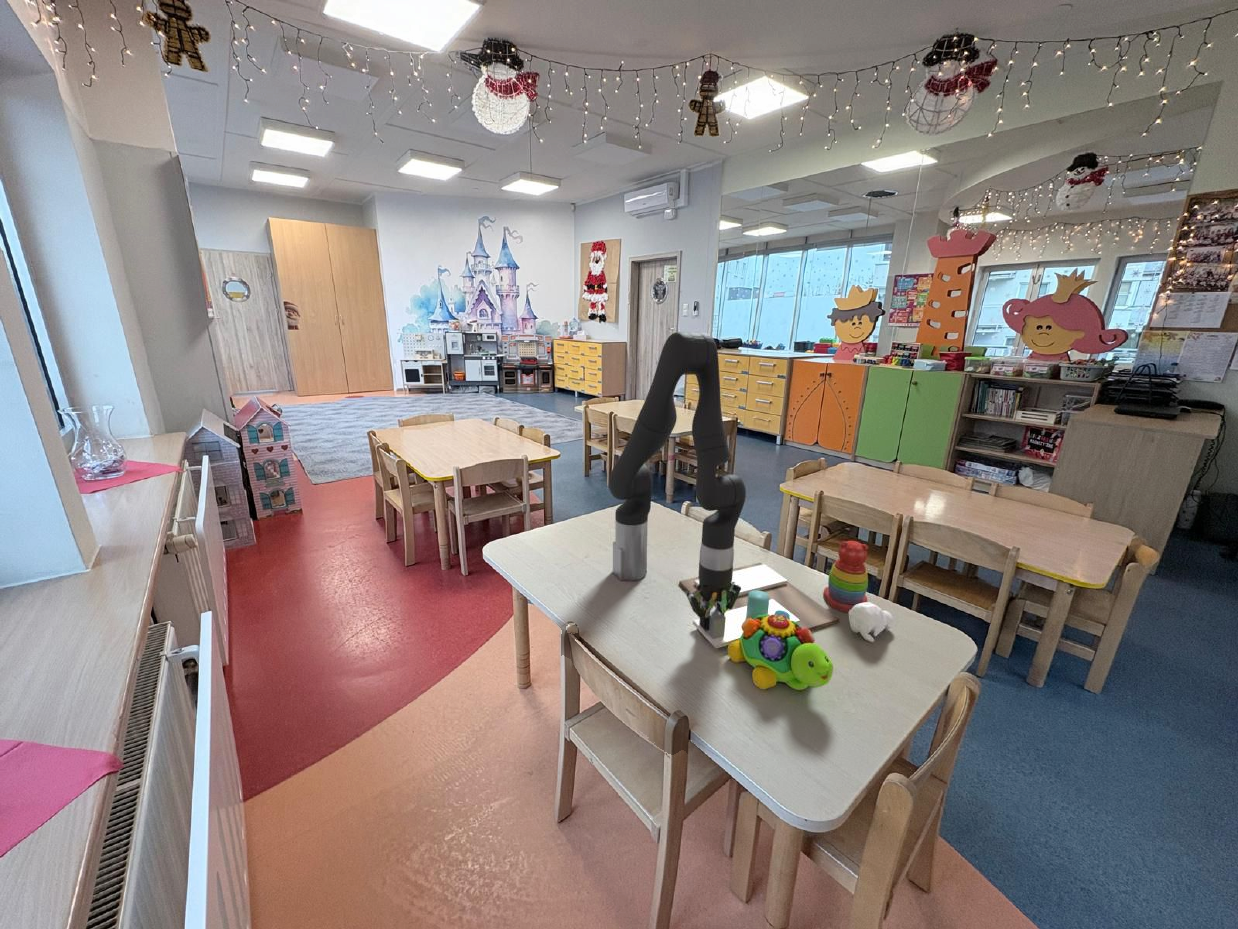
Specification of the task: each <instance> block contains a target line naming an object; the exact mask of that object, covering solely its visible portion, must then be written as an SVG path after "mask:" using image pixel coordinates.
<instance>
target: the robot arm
mask: <svg viewBox="0 0 1238 929" xmlns="http://www.w3.org/2000/svg"><path fill="white" fill-rule="evenodd" d="M718 353H719V352H718V347H717V344H716V341H715V339H714V338H713V336H712V335H711V334H709V333H708V332H707V333H706V332H699V331H698V332H697V331H676V332H674V333H672V334H670V335H669V336H668V337H667V339H666V341H665V342H664V345H663V347H662V350H661V353H660V355H659V359H658V362H657V366H656V369H655V373H654V376H653V379H652V383H651V385H650V387H649V390H648V393H647V395H646V397H645V400H644V403H643V405H642V408H641V409H640V411H639V413H638V416H637V418H636V420H635V422H634V425H633V429H632V431H631V434H630V436H629V437H628V440H627V442H626V444H625V446H624V449H623V450H622V453H621V454H620V456H619V458H618V459H617V461H616V463H615V464H614V466H613V468H612V470H611V472H610V474H609V479H608V488H609V491H610V494H611V495H612V497H613V498H615V499H616V500H620V501H623V503H621V504H620V505H619V506H618V507H617V508H616V510H615V514H614V515H615V523H614V524H615V527H614V528H615V534H614V535H615V538H614V540H615V541H613V542H612V572H613V573H614V574H615V576H616V577H617V578H618V579H619V581H638V580H642V579H643V578H645V577H646V575H647V573H648V572H647V571H648V569H647V568H648V565H647V564H648V529H649V527H648V525H649V524H648V522H649V520H648V519H649V513H650V512H651V506H652V505H651V504H652V493H653V478H652V474H651V470H650V469H649V467H648V466H647V465H646V464H645V463H647V462H648V461H649V460H650V459H651V458H653V457H654V456H655V455H656V454H657V453H658V452H659V451H660V450H662V448H663V447H664V446H665V444H666V443H667V442H668V440H669V439H670V436H671V434H672V432H673V430H674V428H675V426H676V423H677V420H678V417H677V416H678V415H677V408H676V404H675V400H674V392H675V389H676V387H677V385H678V382H679V381H680V379H681V378H682V376H684V375H685V376H687V375H695V377H696V380H697V384H698V391H699V392H698V401H697V405H696V409H695V412H694V415H693V419H692V423H691V425H692V426H691V434H692V440H693V445H694V446H693V447H694V450H695V454H696V455H695V456H696V462H697V463H696V479H695V480H696V482H695V496H696V500H697V503H698V504H699V506H700V507H701V508H702V509H704V510H706V511H709V512H711V511H713V512H714V511H715V512H714V513H711V514H710V515H708V516H707V517H705V518H704V519H703V522H702V531H701V543H700V549H699V558H698V560H699V561H698V562H699V564H698V577H699V585H698V587H697V590H696V591H695V592H694V593H691V592H686V597H687V599H688V603H689V604H690V607H691V609H692V611H693V613H695V615H697V617H698V618H699V619H700V625H701V627H702V628H703V629H704V630H705V631H707V630H709V622H710V617H709V616H710V611H711V609H713V605H714V603H715V602H716V607H717V609H718V610H719V611H720V612H721V613H722V614H723V615H725V612H726V610H727V609H732V608H733V606H734V604H735V601H736V599H737V597H738V595H739V592H740V590H741V587H740V586H739V585H738V584H736V583H735V582H732V574H733V569H734V563H735V562H734V558H735V549H734V547H735V545H734V544H735V533H736V532H735V530H736V526H737V524H738V521H739V519H740V516H741V513H742V510H743V509H744V506H745V502H746V498H747V497H746V496H747V491H746V490H747V489H746V485H745V482H744V481H743V479H742V478H741V477H740V476H738V475H736V474H725V475H724V474H723V475H719V476H716V474H717V469H718V467H720V466H722V465H724V464H725V463H728V461H729V460H730V458H731V456H730V449H729V445H728V440H727V435H726V431H725V426H724V422H723V421H724V420H723V413H722V404H721V403H722V401H721V383H720V382H721V380H720V361H719V355H718ZM624 500H625V501H624ZM731 582H732V583H731ZM700 595H701V600H699V596H700ZM730 598H731V600H730ZM729 600H730V602H729ZM699 601H700V602H701V605H700V604H699V603H698V602H699Z"/></svg>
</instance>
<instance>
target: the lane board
mask: <svg viewBox="0 0 1238 929" xmlns="http://www.w3.org/2000/svg"><path fill="white" fill-rule="evenodd" d="M759 565H763V563H762V562H758V563H752V564H749V565H743V566H739V567H735V568H733V571H737V570H741V569H746V568H750V567H754V566H759ZM698 579H699V576H695V577H691V578H688V579H682V580H680V581H678V582H679V584H678V585H679V586H680V587H681V588H682V589H683V590H684V591H685V592H686V593H688V592H691V593H694V592H695V591H696V590H697V586H696V585H695V584H694V580H698ZM760 591H763V592H765V593H767V594H768V595H769V597H770V599H769V600H771V599H773V600H775V601H776V602H777V603H779V604H780V605H781V606H782V607H784V608H785V609H786V610H788V611H789V612H790V613H791V614H793V615H794V616H795V617H797V618H798V619H799V620H800V624H799V626H800V627H801V628H802V629H804V628H807V629H809V630H810V631H811V632H812V631H814V630H819V629H821V628H824V627H828V626H830V625H834V624H837V623H840V620H841V618H840V617H838V616H837V615H835V614H834V613H832V612H831V611H830V610H829V609H827V608H826V607H824V606H823V605H821V604H820V603H819V602H817V601H815V600H814V599H813V598H811V597H810V596H809V595H807V594H805V593H804V592H803V591H802V590H800V589H799V588H797V587H796V586H794V585H793V584H791V583H790V582H788V581H787V584H783V585H779V586H776V587H772V588H768V589H764V590H760ZM699 600H701V595H700V596H699ZM730 600H731V598H730ZM730 600H729V602H730ZM747 602H748V594H744V595H740V596H738V597H737V599H736V601H735V604H734V606H733V608H732V609H727V610H726V611H730V610H734V609H737V608H741V607H745V606H747ZM698 603H699V605H700V606H701V602H700V601H699V602H698ZM713 606H714V607H715V608H717V607H716V602H715V603H714V605H713Z"/></svg>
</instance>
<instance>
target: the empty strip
mask: <svg viewBox="0 0 1238 929" xmlns="http://www.w3.org/2000/svg"><path fill="white" fill-rule="evenodd" d="M762 564H763V563H762ZM732 582H735V583H736V584H738V585H739V586H740V587H741V590H740V592H739V595H738V596H740V595H744V594H748V593H749V592H751V591H755V590H758V591H760V590H764V589H768V588H772V587H776V586H779V585H783V584H787V582H788V579H786V578H785V577H783V576H782V575H781V574H779V573H778V572H776V571H775V570H774V569H773V568H771V567H769V566H768V565H766V564H765V563H764V564H763V565H759V566H754V567H750V568H746V569H741V570H737V571H733V574H732ZM732 582H731V583H732ZM694 584H695V585H696V586H697V587H698V585H699V579H698V580H694Z"/></svg>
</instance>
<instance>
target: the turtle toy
mask: <svg viewBox="0 0 1238 929" xmlns="http://www.w3.org/2000/svg"><path fill="white" fill-rule="evenodd" d="M741 628H742V630H743V633H742V635H741V637H740V640H736V641H735V642H732V643H730V644H729V645H727V646H728V647H727V654H728V656H729V658H730V659H731V661H733V662H734V663H740V662H747V663H748V664H749V665H751V667H753V668H754V669H753V670H752V680H753V683H754V684H755V686H756V687H757V688H759V689H760V690H766V689H770V688H773V687H775V686H776V685H777V682H781V683H785V684H787V685H788V686H789V687H791V688H792V689H794V690H798V691H800V690H801V691H802V690H805V689H807V688H808V686H809V687H824V686H825V685H827V684H828V683H829V682H830V680H831V678H832V677H833V676H832V675H833V671H834V664H833V661H832V660H831V658H830V656H828V654H827V653H826V651H825V650H824V649H823V648H822V647H821V646H819V645H818V644H816V643H815V635H814V634H813V633H812V631H810V630H809V629H807V628H804V629H802V628H801V627H800V626H799V624H798V623H797V622H795V621H793V620H790V615H789V614H788V613H787V612H785V611H782V610H777V611H776V612H775V614H772V615H770V614H765V615H758V616H757V617H756V618H754V619H752V618H747V619H746V620H745V621H744V622H743V623H742V625H741Z"/></svg>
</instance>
